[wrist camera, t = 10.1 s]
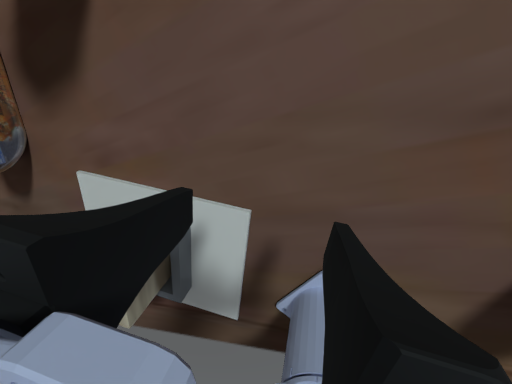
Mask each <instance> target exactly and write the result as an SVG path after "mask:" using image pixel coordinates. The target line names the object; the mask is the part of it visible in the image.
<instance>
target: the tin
mask: <svg viewBox="0 0 512 384" xmlns="http://www.w3.org/2000/svg"><path fill="white" fill-rule="evenodd" d="M26 143H27V135H26V130H25V127H24V124H23V121H22V118H21V115H20V112H19V109H18V107H17V104H16V101H15V98H14V95H13V92H12V89H11V86H10V82H9V79H8V76H7V73H6V70H5V67H4V64H3V61H2V58H1V56H0V173H2V172H4V171H6V170H8V169H9V168H11V167H12V166H13V165H14V164H15V163H16V162H18V160H19V159H20V158H21V156H22V154H23V153H24V150H25V148H26Z"/></svg>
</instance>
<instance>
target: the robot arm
mask: <svg viewBox="0 0 512 384" xmlns="http://www.w3.org/2000/svg"><path fill="white" fill-rule="evenodd" d="M192 223H193V189H188V188H184V187H180V188H175V189H171V190H168V191H165V192H161V193H158V194H155V195H152V196H149V197H145V198H142V199H138V200H134V201H131V202H127V203H123V204H119V205H115V206H110V207H105V208H99V209H93V210H85V211H78V212H70V213H59V214H44V215H0V384H196V380H195V378H194V375H193V373H192V371H191V368H190V366H189V365H188V364H187V363H186V362H185V361H184V360H183V359H182V358H181V357H180V356H179V355H178V354H177V353H175V352H173V351H171V350H170V349H168V348H166V347H164V346H162V345H160V344H158V343H155V342H153V341H150V340H147V339H144V338H142V337H138V336H136V335H133V334H130V333H128V332H125V331H122V330H119V329H116V328H117V327H118V325H119V323H120V322H121V320H122V318H123V317H124V315H125V313H126V312H127V310H128V309H129V307H130V306H131V304H132V303H133V301H134V300H135V298H136V297H137V295H138V293H139V292H140V291H141V289H142V288H143V286H144V285H145V283H146V282H147V280H148V279H149V278H150V276H151V275H152V274H153V272H154V271H155V270H156V269H157V267H158V266H159V265H160V264H161V263H162V262H163V261H164V259H165V258H166V257H167V256H168V255H169V254H170V253H171V251H172V250H173V249H174V248H175V247H176V246H177V244H178V243H179V242H180V241H181V240H182V238H183V237H184V236H185V234H186V233H187V231H188V230H189V228H190V226H191V225H192ZM276 307H277V309H279V310H280V311H281V312H283V313H284V314H285V315H287V316H288V317H289V318H290V325H289V332H288V339H287V346H286V353H285V361H284V368H283V375H282V382H281V383H274V384H512V382H511V381H510V379H509V377H508V376H507V374H506V372H505V371H504V369H503V368H502V366H501V364H500V363H499V361H498V360H497V359H496V358H495V357H493V356H492V355H490V354H489V353H487V352H486V351H484V350H483V349H481V348H480V347H478V346H477V345H475V344H473V343H472V342H470V341H469V340H467V339H466V338H464V337H463V336H461V335H460V334H458V333H457V332H455V331H454V330H453V329H451V328H450V327H449V326H447V325H446V324H444V323H443V322H442V321H440V320H439V319H438V318H436V317H435V316H434V315H432V314H431V313H430V312H429V311H427V310H426V309H425V308H424V307H422V306H421V305H420V304H419V303H418V302H416V301H415V300H414V299H413V298H412V297H410V296H409V295H408V294H407V293H406V292H405V291H404V290H403V289H402V288H400V287H399V286H398V285H397V284H396V283H395V282H394V281H393V280H392V279H391V278H390V277H389V276H388V275H387V274H386V273H385V272H384V270H383V269H382V268H381V267H380V266H379V265H378V264H377V262H376V261H375V260H374V259H373V258H372V257H371V255H370V254H369V253H368V252H367V250H366V249H365V248H364V246H363V245H362V244H361V242H360V241H359V239H358V238H357V237H356V235H355V234H354V232H353V231H352V230H351V228H350V227H349V225H347V224H343V223H339V222H334V224H333V228H332V231H331V234H330V237H329V240H328V244H327V247H326V250H325V253H324V260H323V271H321V272H319V273H318V274H316V275H315V276H314V277H312V278H311V279H309V280H308V281H307V282H305V283H304V284H302V285H301V286H300V287H298V288H297V289H295V290H294V291H293V292H291V293H290V294H288V295H287V296H286V297H284V298H283V299H281V300H280V301H279V302H277V305H276ZM284 308H285V309H284Z"/></svg>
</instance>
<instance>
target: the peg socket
mask: <svg viewBox="0 0 512 384" xmlns="http://www.w3.org/2000/svg"><path fill="white" fill-rule="evenodd" d="M76 173H77V177H78V181H79V185H80V189H81V193H82V197H83V201H84V205H85V210H93V209H99V208H105V207H110V206H115V205H119V204H123V203H127V202H131V201H134V200H138V199H142V198H145V197H149V196H152V195H155V194H158V193H161V192H165V191H167V190H162V189H158V188H154V187H150V186H145V185H141V184H137V183H132V182H128V181H124V180H119V179H115V178H111V177H106V176H102V175H98V174H94V173H89V172H85V171H81V170H80V171H78V172H76ZM250 218H251V210H249V209H244V208H240V207H236V206H231V205H227V204H223V203H218V202H214V201H210V200H206V199H201V198H197V197H193V223H192V225H191V226H190V228H189V230H188V231H187V233H186V234H185V236H184V237H183V238H182V240H181V241H180V242H179V243H178V244H177V246H176V247H175V248H174V249H173V250H172V251H171V253H170V258H171V273H172V275H171V276H170V278H169V279H168V280H167V282H166V283H165V284H164V285H163V287H162V288H161V289H160V291H159V292H158V293H157V296H160V297H163V298H166V299H169V300H173V301H176V302H179V303H185V304H188V305H191V306H194V307H198V308H201V309H204V310H207V311H210V312H213V313H216V314H220V315H223V316H226V317H229V318H232V319H235V320H238V317H239V310H240V301H241V293H242V285H243V276H244V268H245V260H246V251H247V243H248V235H249V226H250Z"/></svg>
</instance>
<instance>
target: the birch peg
mask: <svg viewBox="0 0 512 384" xmlns="http://www.w3.org/2000/svg"><path fill="white" fill-rule="evenodd" d="M171 275H172V273H171V258H170V254H169V255H168V256H167V257H166V258H165V259H164V261H163V262H162V263H161V264H160V265H159V266H158V267H157V269H156V270H155V271H154V272H153V274H152V275H151V276H150V278H149V279H148V280H147V282H146V283H145V285H144V286H143V288H142V289H141V291H140V292H139V293H138V295H137V297H136V298H135V300H134V301H133V303H132V304H131V306H130V307H129V309H128V310H127V312H126V313H125V315H124V317H123V318H122V320H121V322H120V323H119V325H120V326H123V327H126V328H129V329H130V328H131V327H132V326H133V324H134V323H135V322H136V320H137V319H138V318H139V317H140V315H141V314H142V313H143V311H144V310H145V309H146V307H147V306H148V305H149V304H150V302H151V301H152V300H153V298H154V297H155V296H156V295H157V293H158V292H159V291H160V289H161V288H162V287H163V285H164V284H165V283H166V282H167V280H168V279H169V278H170V276H171Z"/></svg>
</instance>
